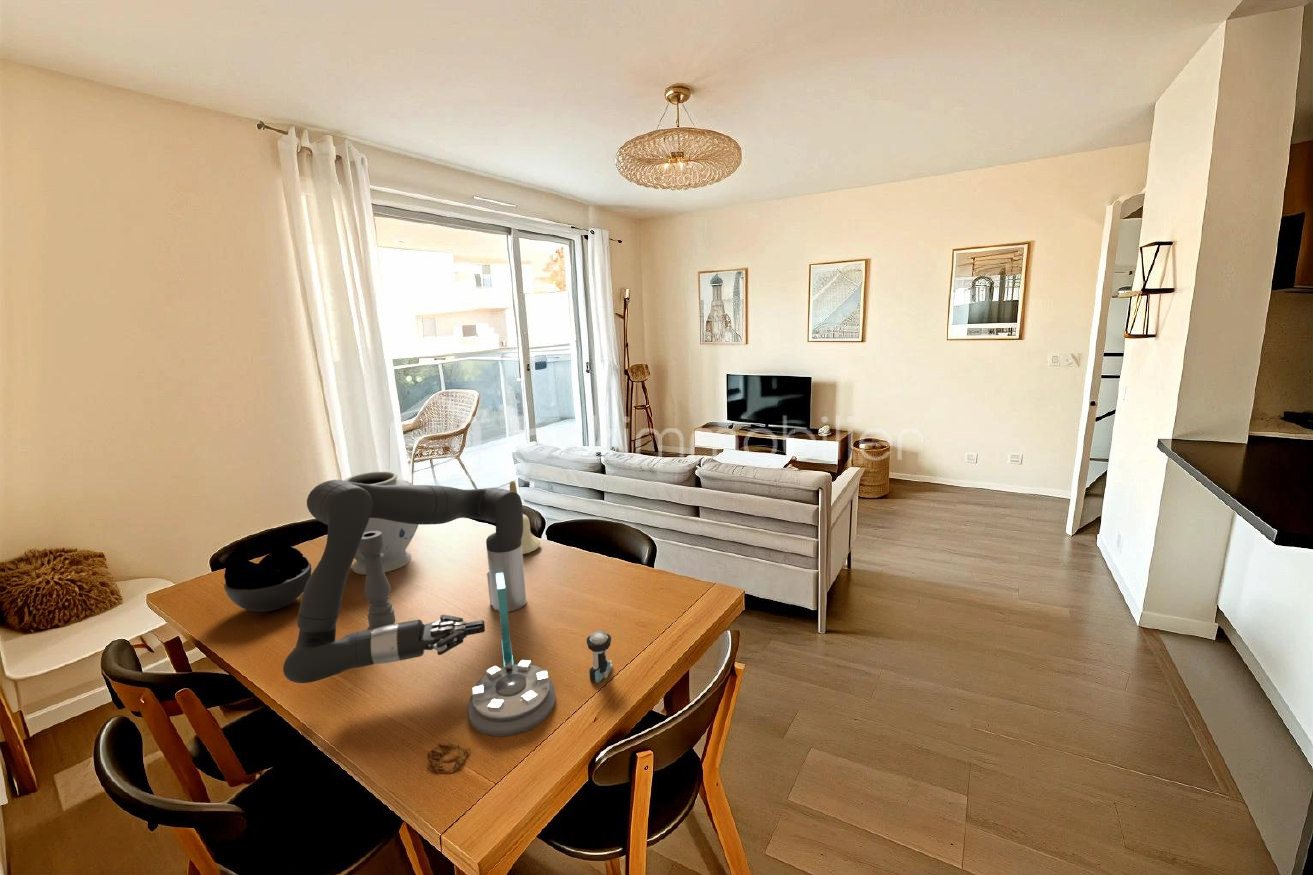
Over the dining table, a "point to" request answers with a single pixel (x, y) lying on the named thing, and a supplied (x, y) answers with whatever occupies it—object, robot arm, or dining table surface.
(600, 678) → the push button
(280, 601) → the coal bowl
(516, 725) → the round gray base
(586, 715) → the dining table surface
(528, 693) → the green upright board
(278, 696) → the dining table surface
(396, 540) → the grey ceramic vase
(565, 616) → the dining table surface
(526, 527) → the handbell
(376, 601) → the candle holder
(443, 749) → the leaf
